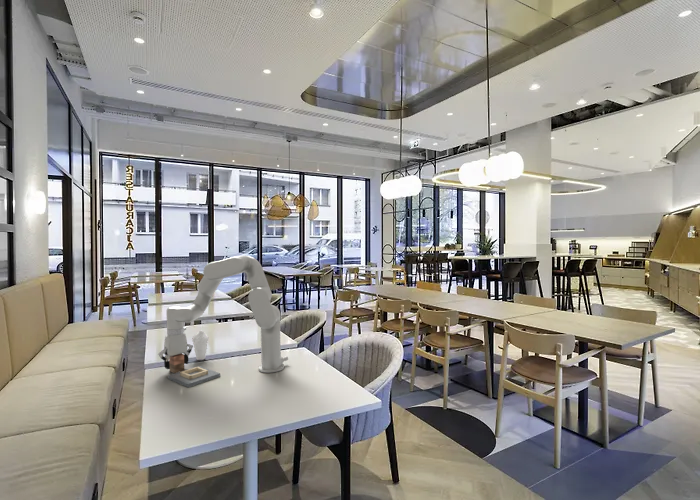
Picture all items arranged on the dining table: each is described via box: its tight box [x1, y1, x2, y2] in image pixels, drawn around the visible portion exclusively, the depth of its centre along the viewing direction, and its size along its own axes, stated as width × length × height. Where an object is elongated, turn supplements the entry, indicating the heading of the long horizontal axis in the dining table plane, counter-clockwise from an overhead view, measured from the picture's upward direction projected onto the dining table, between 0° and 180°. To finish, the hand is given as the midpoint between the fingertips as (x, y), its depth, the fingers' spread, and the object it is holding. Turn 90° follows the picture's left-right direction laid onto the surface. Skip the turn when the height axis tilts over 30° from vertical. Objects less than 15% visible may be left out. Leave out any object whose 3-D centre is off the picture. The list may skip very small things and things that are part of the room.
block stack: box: [168, 353, 186, 374], centre depth 189 cm, size 5×5×8 cm
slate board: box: [167, 365, 221, 388], centre depth 179 cm, size 16×18×3 cm
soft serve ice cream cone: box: [191, 329, 209, 361], centre depth 206 cm, size 8×8×16 cm
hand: (176, 365), depth 189 cm, fingers open, 9 cm apart
